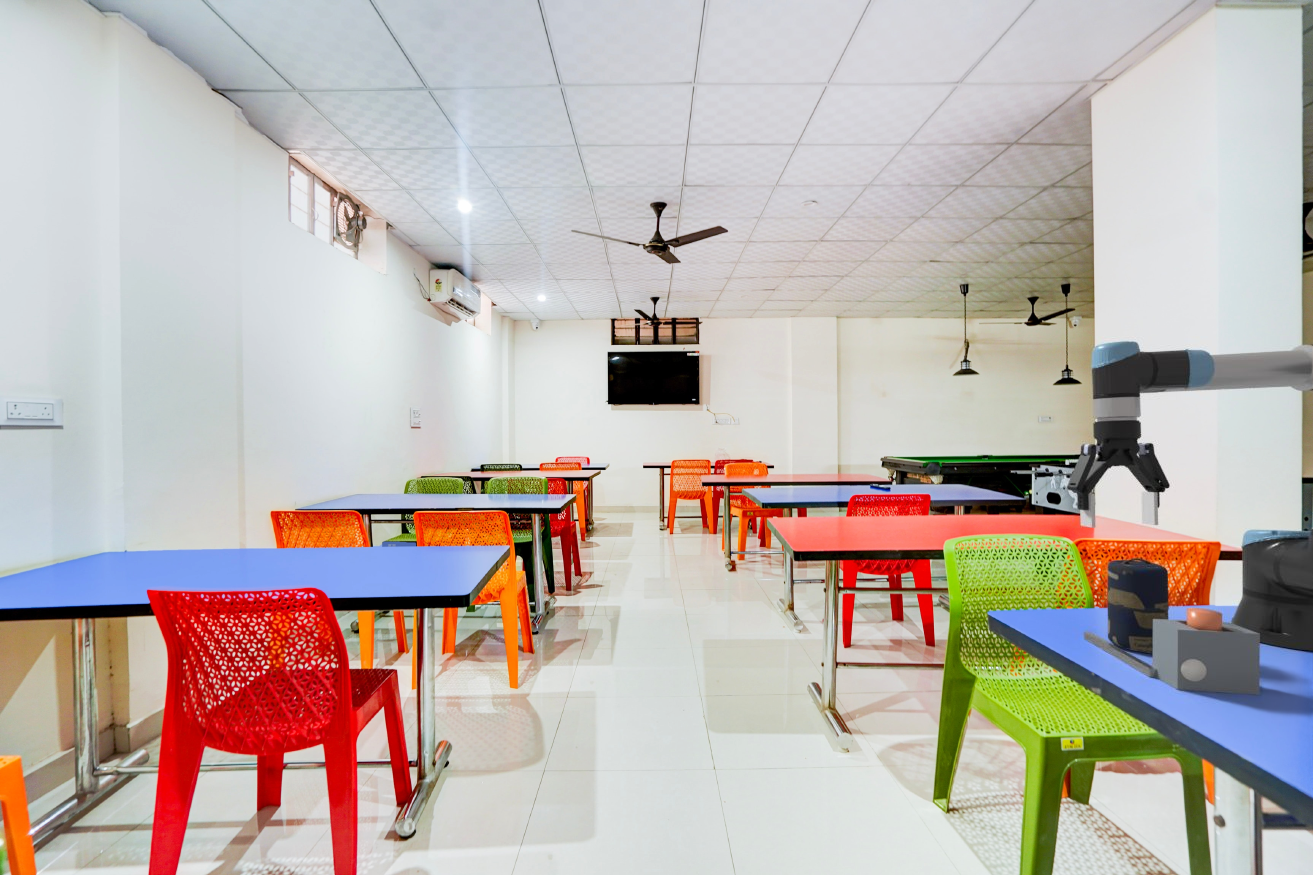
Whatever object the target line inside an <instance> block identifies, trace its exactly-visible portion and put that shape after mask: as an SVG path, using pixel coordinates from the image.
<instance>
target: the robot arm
mask: <svg viewBox="0 0 1313 875" xmlns="http://www.w3.org/2000/svg"><path fill="white" fill-rule="evenodd" d="M1090 370H1091V379H1092V380H1091V381H1092V384H1091V385H1092V414H1093V415H1092V418H1093V419H1095V420H1096V421H1094V422H1093V423H1092V425H1093V426H1092V427H1093V438H1094V440H1096V444H1092V443H1091V444H1089V443H1085V444H1081V446H1080V456H1079V457H1078V460H1077V462H1076V464H1075V466H1074V469H1073V471H1072V474H1071V476H1070V478H1069V481H1068V483H1067V485H1066V488H1067V490H1068V491H1072V493H1074V494H1076V495H1077V496H1076V498H1077V509H1078V510H1079V511H1080V515H1079V516H1080V526H1081V527H1087V528H1096V500H1095V498H1096V496H1095V494H1093V493H1091V492H1093V490H1094V489H1095V487H1096V485H1097V484H1098V483H1099V481H1100V480H1101V479H1102V477H1103V476H1104V474H1106V472H1107V471H1108V470H1109V469H1111V468H1112V467H1125V468H1127V469H1128V470H1129V471H1130V473H1131V474H1132V475H1133V477H1134V478H1135V479H1136V480H1137V482H1139V484H1140V485H1141V486H1142V487H1143V488H1144V490H1145V491H1141V523H1142V524H1145V525H1150V526H1159V508H1160V503H1161V501H1160V495H1161V494H1160V493H1164V492H1165V491H1166V489H1169V488H1170V487H1171V486H1170V485H1171V484H1170V483H1169V481H1168V479H1167V477H1166V475H1165V472H1164V470H1163V468H1162V465H1161V463H1160V461H1159V460H1158V458H1157V455H1156V454H1155V452H1156V451H1155V445H1154V444H1153V442H1139V443H1138V441H1139V439H1140V438H1141V437H1142V423H1141V421H1140V420H1138V418H1140V417H1142V416H1141V415H1142V413H1141V412H1142V411H1141V394H1151V393H1152V394H1153V393H1170V392H1173V393H1174V392H1189V391H1190V392H1194V391H1214V390H1215V391H1216V390H1237V389H1239V390H1240V389H1262V388H1263V389H1264V388H1265V389H1266V388H1286V387H1291V388H1292V389H1293V390H1295V391H1301V392H1308V391H1313V344H1301V345H1298V346H1296V347H1294V348H1293V349H1291V350H1279V351H1277V350H1276V351H1261V352H1245V353H1244V352H1243V353H1226V354H1225V353H1223V354H1210V352H1208V351H1206V350H1203V349H1188V348H1185V349H1179V350H1164V351H1163V350H1161V351H1141V349H1140V345H1139V343H1138V342H1136V341H1128V340H1127V341H1123V340H1122V341H1114V342H1113V341H1112V342H1106V343H1101V344H1098V345H1096V346H1094V348H1093V349H1092V352H1091V366H1090ZM1240 546H1241V550H1242V551H1241V552H1242V554H1241V555H1242V556H1241V557H1242V560H1241V561H1242V574H1241V575H1242V577H1241V578H1242V581H1241V582H1242V585H1241V586H1242V594H1241V595H1242V596H1241V599H1240V602H1239V603H1238V605H1237V608H1236V610H1235V613H1234V615H1233V617H1232V618H1231V619H1230V620H1231V621H1230V623H1232V624H1235V625H1238V626H1240V627H1243V628H1245V629H1248V630H1251V631H1253V632H1256V633H1259V634H1260V643H1263V644H1267V645H1271V646H1274V647H1275V646H1276V647H1282V648H1287V649H1288V648H1289V649H1293V650H1294V649H1295V650H1299V651H1301V650H1302V651H1312V652H1313V527H1311V530H1283V529H1282V530H1279V529H1277V530H1276V529H1275V530H1274V529H1249V530H1246V531H1245V532H1244V534H1243V537H1242V543H1241V545H1240Z"/></svg>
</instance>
